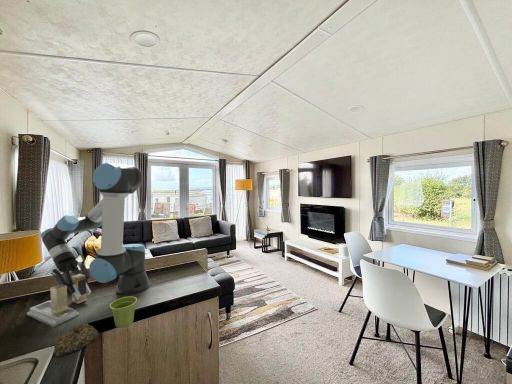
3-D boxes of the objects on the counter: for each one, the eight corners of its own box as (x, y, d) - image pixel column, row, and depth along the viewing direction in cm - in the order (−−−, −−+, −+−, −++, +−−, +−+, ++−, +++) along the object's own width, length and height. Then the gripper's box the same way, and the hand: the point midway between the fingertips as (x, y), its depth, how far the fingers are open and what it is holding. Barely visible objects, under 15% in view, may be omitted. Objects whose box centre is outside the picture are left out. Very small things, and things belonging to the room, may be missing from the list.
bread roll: (100, 343, 79) (100, 329, 79) (52, 361, 71) (52, 346, 71) (95, 326, 89) (95, 313, 89) (53, 340, 81) (53, 326, 80)
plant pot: (107, 334, 83) (107, 311, 83) (112, 320, 92) (111, 299, 92) (136, 327, 87) (136, 305, 87) (138, 314, 96) (137, 294, 95)
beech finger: (72, 301, 106) (71, 276, 105) (80, 298, 109) (79, 273, 109) (78, 304, 104) (77, 278, 103) (86, 300, 107) (86, 275, 107)
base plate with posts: (26, 315, 96) (25, 284, 95) (52, 304, 104) (51, 276, 103) (53, 326, 88) (51, 293, 87) (79, 314, 96) (78, 284, 95)
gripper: (78, 255, 120) (99, 292, 114) (38, 266, 104) (59, 309, 98) (84, 246, 117) (105, 283, 111) (43, 256, 102) (66, 299, 96)
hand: (84, 295), depth 105 cm, fingers closed on beech finger, 3 cm apart
